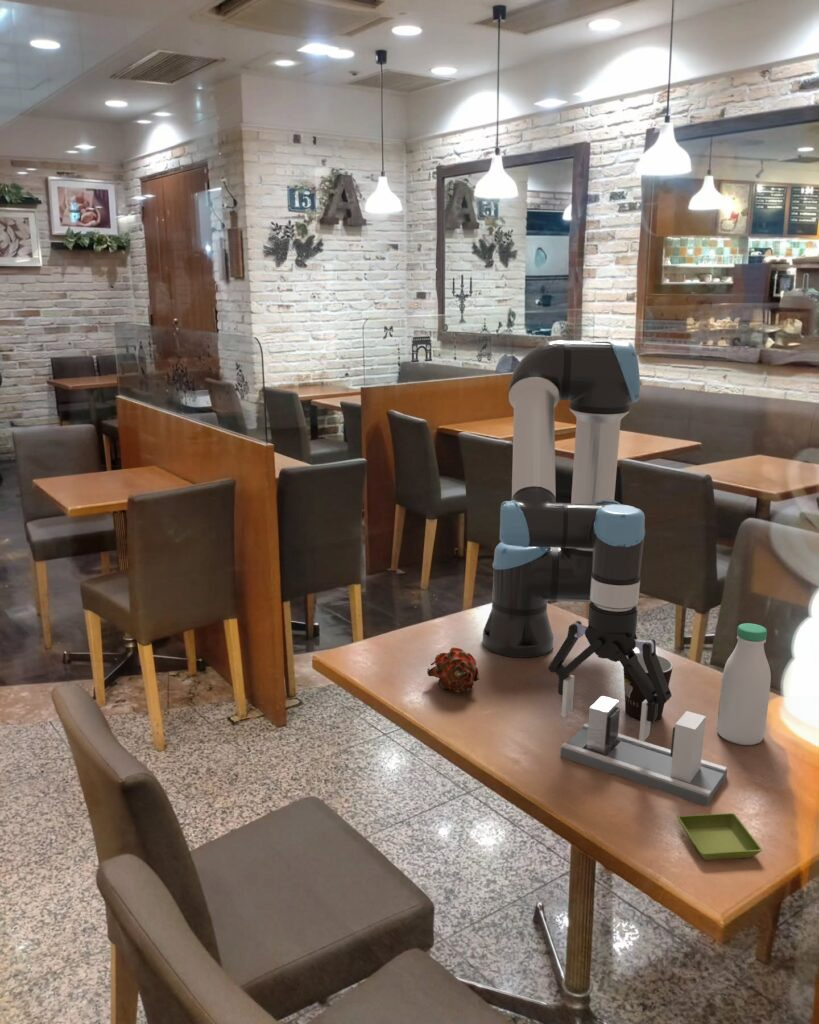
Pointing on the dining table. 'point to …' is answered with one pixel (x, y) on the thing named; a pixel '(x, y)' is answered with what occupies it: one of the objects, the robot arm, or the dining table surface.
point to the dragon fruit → (455, 670)
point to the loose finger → (603, 725)
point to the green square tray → (719, 836)
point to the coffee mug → (635, 695)
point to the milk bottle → (745, 688)
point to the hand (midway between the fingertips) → (604, 725)
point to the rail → (658, 761)
